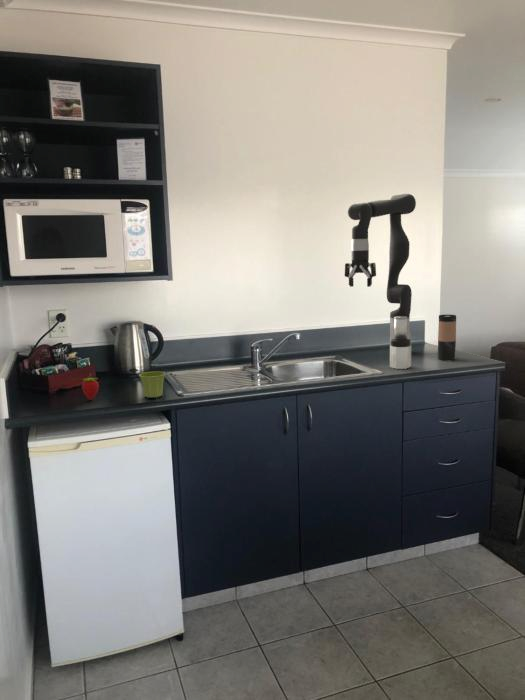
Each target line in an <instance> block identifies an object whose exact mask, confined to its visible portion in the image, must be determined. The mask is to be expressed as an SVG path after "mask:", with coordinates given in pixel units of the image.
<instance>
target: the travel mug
mask: <svg viewBox="0 0 525 700" xmlns="http://www.w3.org/2000/svg"><path fill="white" fill-rule="evenodd" d="M437 331H438V335H437V353H438V354H437V359H438V360H439V359H440V360H439V361H444V360H451V361H455V360H454V359H456V345H457V315H456V314H439V315H438V329H437Z"/></svg>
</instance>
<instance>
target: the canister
mask: <svg viewBox="0 0 525 700" xmlns="http://www.w3.org/2000/svg"><path fill="white" fill-rule="evenodd" d="M394 340H399V341H402V340H407V317H406V316H395V317H394Z"/></svg>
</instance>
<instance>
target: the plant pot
mask: <svg viewBox="0 0 525 700" xmlns="http://www.w3.org/2000/svg"><path fill="white" fill-rule="evenodd" d="M166 374H167V373H166V372H165V371H158V370H157V371H155V370H154V371H146V372H142V373H140V374H138V377H140V378H139V379H140V381H141V385H142V388H143V394H144V397H145V396H146V397H158V396H161V395H162V396H163V391H164V390H163V389H164V379H165V375H166ZM158 398H159V397H158Z"/></svg>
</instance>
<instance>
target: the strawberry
mask: <svg viewBox="0 0 525 700" xmlns="http://www.w3.org/2000/svg"><path fill="white" fill-rule="evenodd" d="M91 375H92V373H90V375H89V376H88V377H87V378H83V379H82V383H81V390H82V392H83V394H84V395H85V397H87V399H88V400H89V399H93V400H94V399H95V397H96V395H97V393H98V391H99V387H100V385H99V382H98V381H97V380H98V378H97V377H90V376H91Z"/></svg>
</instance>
